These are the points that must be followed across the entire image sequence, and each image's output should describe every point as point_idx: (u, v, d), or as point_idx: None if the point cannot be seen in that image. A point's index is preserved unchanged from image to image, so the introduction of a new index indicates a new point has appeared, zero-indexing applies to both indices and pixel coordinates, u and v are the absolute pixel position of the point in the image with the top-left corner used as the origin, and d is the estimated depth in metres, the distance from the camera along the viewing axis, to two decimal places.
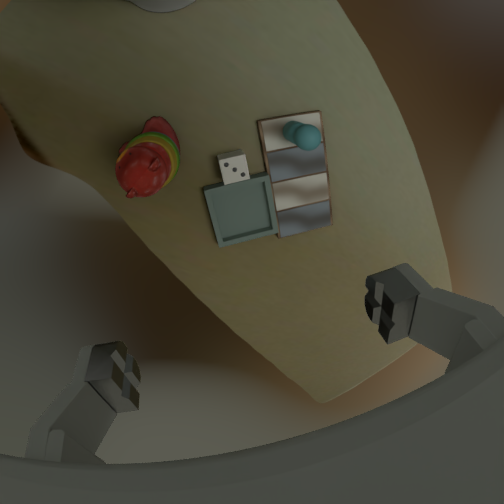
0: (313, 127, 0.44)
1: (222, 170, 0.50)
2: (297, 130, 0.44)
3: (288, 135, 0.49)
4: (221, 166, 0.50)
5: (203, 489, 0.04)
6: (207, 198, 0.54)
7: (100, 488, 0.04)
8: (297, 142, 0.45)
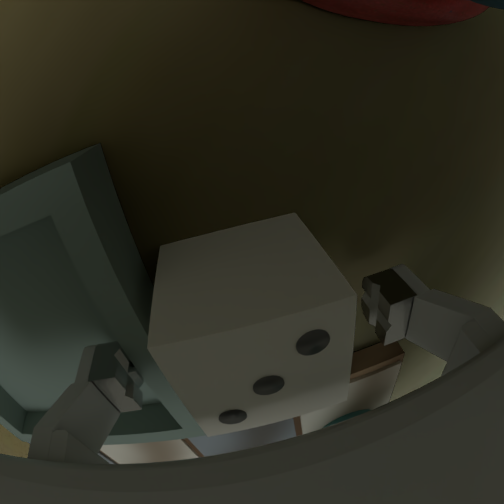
0: None
1: (272, 327, 0.06)
2: None
3: None
4: (306, 317, 0.06)
5: (203, 489, 0.04)
6: (22, 195, 0.06)
7: (100, 488, 0.04)
8: None
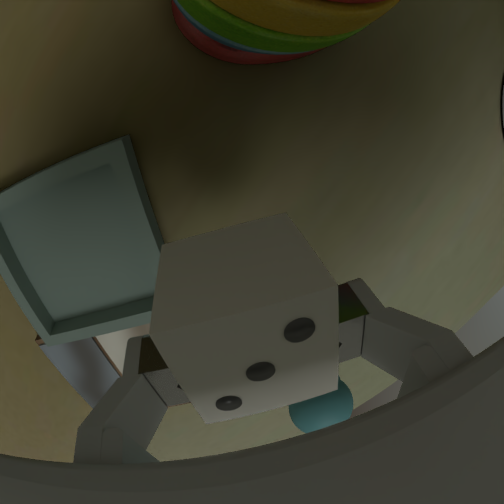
0: None
1: (260, 314, 0.07)
2: (343, 389, 0.18)
3: None
4: (291, 305, 0.07)
5: (203, 489, 0.04)
6: (96, 153, 0.14)
7: (100, 488, 0.04)
8: (319, 401, 0.17)
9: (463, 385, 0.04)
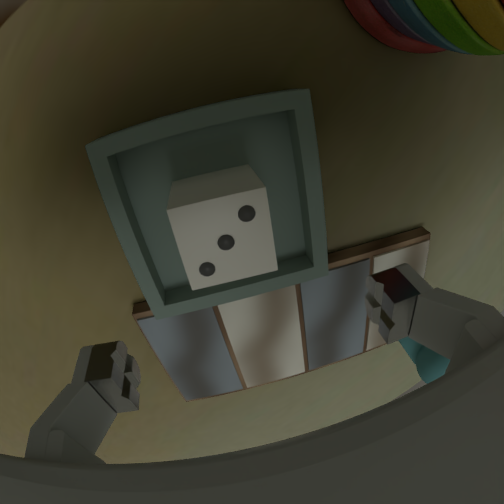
0: None
1: (225, 200, 0.13)
2: None
3: None
4: (241, 196, 0.13)
5: (203, 489, 0.04)
6: (281, 97, 0.14)
7: (100, 488, 0.04)
8: None
9: (463, 385, 0.04)
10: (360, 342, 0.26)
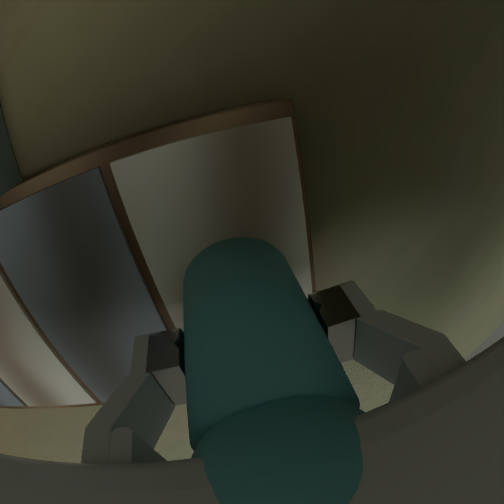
0: None
1: None
2: None
3: (242, 306, 0.07)
4: None
5: (203, 489, 0.04)
6: None
7: (100, 488, 0.04)
8: None
9: (463, 385, 0.04)
10: None
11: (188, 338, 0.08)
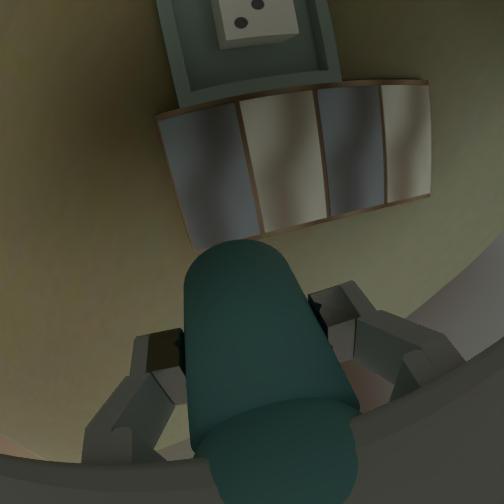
0: None
1: None
2: None
3: (243, 308, 0.07)
4: None
5: (203, 489, 0.04)
6: None
7: (100, 488, 0.04)
8: None
9: (463, 385, 0.04)
10: (380, 187, 0.26)
11: (189, 340, 0.08)
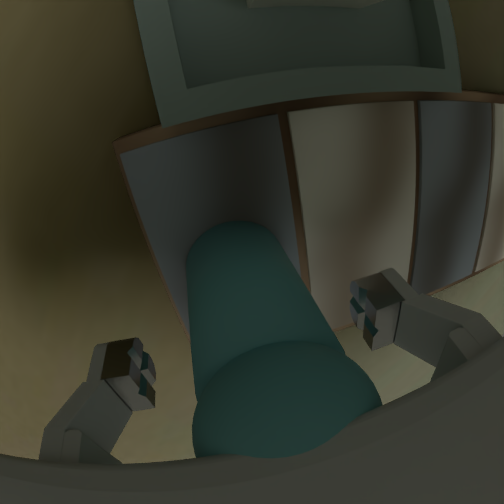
0: None
1: None
2: (357, 385, 0.05)
3: (240, 272, 0.08)
4: None
5: (203, 489, 0.04)
6: None
7: (100, 488, 0.04)
8: (268, 427, 0.04)
9: (463, 385, 0.04)
10: (473, 254, 0.15)
11: (193, 304, 0.09)
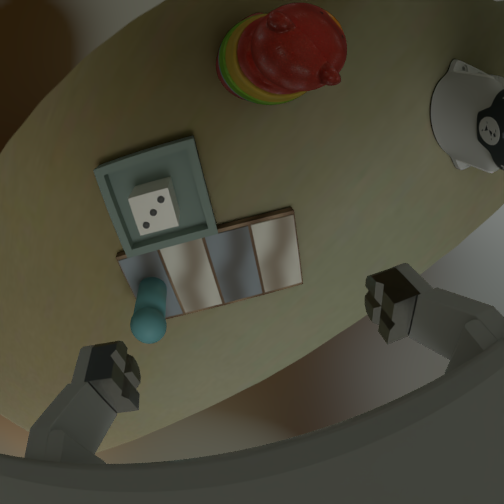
0: (163, 333, 0.34)
1: (151, 194, 0.30)
2: (154, 314, 0.33)
3: (145, 292, 0.37)
4: (157, 192, 0.30)
5: (203, 489, 0.04)
6: (179, 144, 0.31)
7: (100, 488, 0.04)
8: (138, 317, 0.33)
9: (463, 385, 0.04)
10: (257, 284, 0.43)
11: (136, 299, 0.37)
